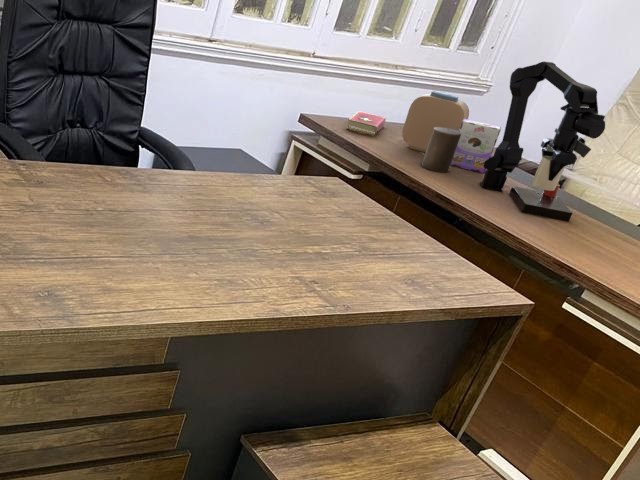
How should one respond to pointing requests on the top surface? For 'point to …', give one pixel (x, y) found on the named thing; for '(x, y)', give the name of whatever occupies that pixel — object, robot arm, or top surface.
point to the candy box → (475, 145)
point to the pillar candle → (441, 149)
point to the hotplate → (540, 204)
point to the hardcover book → (366, 122)
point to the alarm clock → (432, 118)
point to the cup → (545, 175)
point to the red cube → (551, 192)
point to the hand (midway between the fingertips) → (547, 177)
